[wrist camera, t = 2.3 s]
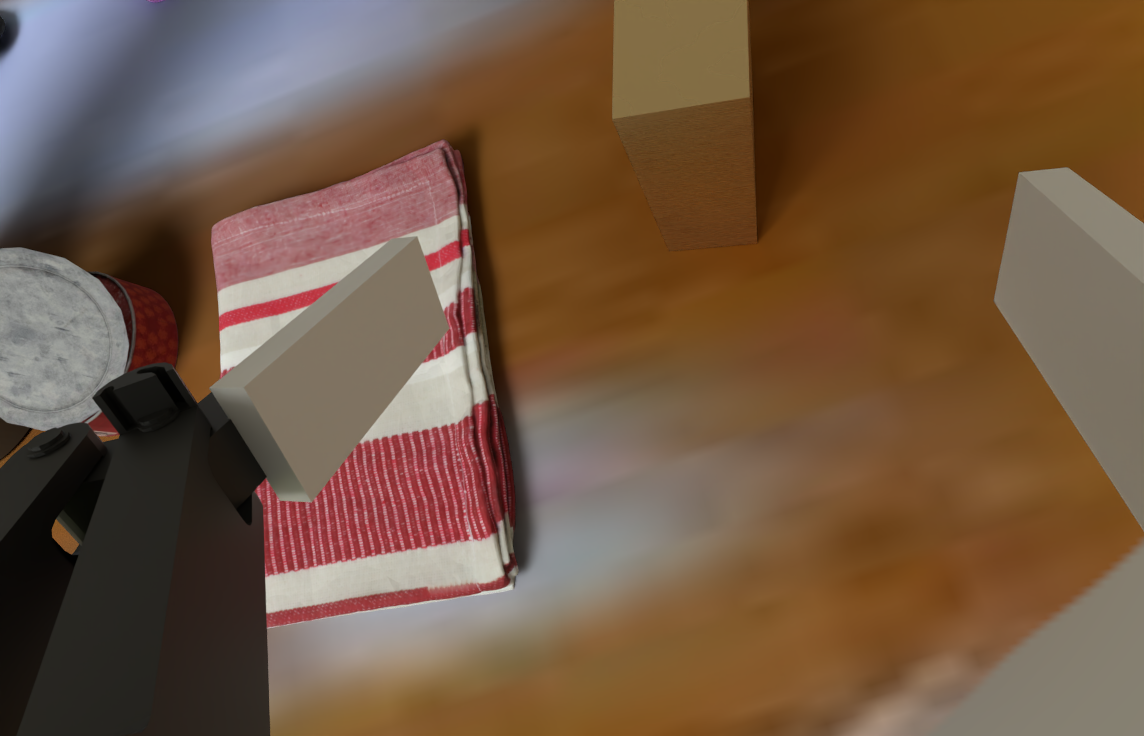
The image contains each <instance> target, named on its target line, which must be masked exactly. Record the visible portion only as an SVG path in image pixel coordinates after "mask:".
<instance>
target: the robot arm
mask: <svg viewBox="0 0 1144 736" xmlns="http://www.w3.org/2000/svg"><path fill="white" fill-rule="evenodd" d="M994 302H995V304H996V305H997V307H998V308H999V310H1000V311H1001V313H1002V315H1003V316H1004V318H1005V319H1006V321H1007V322H1008V324H1009V325H1010V327H1011V328H1012V330H1013V331H1014V333H1015V334H1016V336H1017V338H1018V339H1019V341H1020V342H1021V344H1022V345H1023V347H1024V348H1025V350H1026V351H1027V353H1028V354H1029V356H1030V357H1031V359H1032V360H1033V362H1034V364H1035V365H1036V367H1037V368H1038V370H1039V371H1040V373H1041V374H1042V376H1043V377H1044V379H1045V380H1046V382H1047V383H1048V385H1049V387H1050V388H1051V390H1052V391H1053V393H1054V394H1055V396H1056V397H1057V399H1058V400H1059V402H1060V403H1061V405H1062V406H1063V408H1064V410H1065V411H1066V413H1067V414H1068V416H1069V417H1070V419H1071V420H1072V422H1073V423H1074V425H1075V426H1076V428H1077V429H1078V431H1079V433H1080V434H1081V436H1082V437H1083V439H1084V440H1085V442H1086V443H1087V445H1088V446H1089V448H1090V449H1091V451H1092V452H1093V454H1094V456H1095V457H1096V459H1097V460H1098V462H1099V463H1100V465H1101V466H1102V468H1103V469H1104V471H1105V472H1106V474H1107V475H1108V477H1109V479H1110V480H1111V482H1112V483H1113V485H1114V486H1115V488H1116V489H1117V491H1118V492H1119V494H1120V495H1121V497H1122V498H1123V500H1124V502H1125V503H1126V505H1127V506H1128V508H1129V509H1130V511H1131V512H1132V514H1133V515H1134V517H1135V518H1136V520H1137V521H1138V523H1139V525H1140V526H1141V528H1142V529H1143V531H1144V223H1143V222H1141V221H1140V220H1138V219H1137V218H1136V217H1134V216H1133V215H1132V214H1130V213H1129V212H1128V211H1126V210H1125V209H1123V208H1122V207H1121V206H1119V205H1118V204H1117V203H1115V202H1114V201H1113V200H1111V199H1110V198H1109V197H1107V196H1106V195H1104V194H1103V193H1102V192H1100V191H1099V190H1098V189H1096V188H1095V187H1094V186H1092V185H1091V184H1090V183H1088V182H1087V181H1085V180H1084V179H1083V178H1081V177H1080V176H1079V175H1077V174H1076V173H1075V172H1073V171H1072V170H1071V169H1069V168H1068V167H1066V168H1056V169H1047V170H1038V171H1028V172H1019V175H1018V180H1017V185H1016V190H1015V195H1014V200H1013V205H1012V211H1011V216H1010V221H1009V226H1008V231H1007V236H1006V241H1005V246H1004V251H1003V256H1002V261H1001V266H1000V271H999V276H998V281H997V287H996V292H995V297H994ZM448 330H449V326H448V323H447V320H446V317H445V314H444V311H443V309H442V306H441V303H440V300H439V297H438V294H437V291H436V288H435V286H434V283H433V280H432V277H431V274H430V271H429V268H428V265H427V263H426V260H425V257H424V254H423V251H422V248H421V245H420V242H419V240H418V237H417V236H413V237H404V238H394V239H391V240H390V241H388V242H387V243H386V244H385V245H384V246H382V247H381V248H380V249H379V250H377V251H376V252H375V253H374V254H373V255H371V256H370V257H369V258H368V259H366V260H365V261H364V262H363V263H362V264H360V265H359V266H358V267H357V268H355V269H354V270H353V271H352V272H351V273H349V274H348V275H347V276H346V277H344V278H343V279H342V280H341V281H340V282H338V283H337V284H336V285H335V286H333V287H332V288H331V289H330V290H329V291H327V292H326V293H325V294H324V295H322V296H321V297H320V298H319V299H318V300H316V301H315V302H314V303H313V304H311V305H310V306H309V307H308V308H307V309H305V310H304V311H303V312H302V313H300V314H299V315H298V316H297V317H296V318H294V319H293V320H292V321H291V322H289V323H288V324H287V325H286V326H285V327H283V328H282V329H281V330H280V331H278V332H277V333H276V334H275V335H274V336H272V337H271V338H270V339H269V340H267V341H266V342H265V343H264V344H263V345H261V346H260V347H259V348H258V349H256V350H255V351H254V352H253V353H252V354H250V355H249V356H248V357H247V358H245V359H244V360H243V361H242V362H241V363H239V364H238V365H237V366H236V367H234V368H233V369H232V370H231V371H230V372H228V373H227V374H226V375H225V376H223V377H222V378H221V379H220V380H219V381H217V382H216V383H215V384H214V385H212V386H211V387H210V390H211V393H210V394H209V395H208V396H206V397H205V398H204V399H203V400H201V401H200V402H199V403H198V404H197V402H196V401H195V399H194V397H193V396H192V394H191V393H190V391H189V390H188V388H187V387H186V385H185V384H184V382H183V381H182V379H181V378H180V376H179V374H178V373H177V371H176V370H175V368H174V367H173V365H172V364H169V363H165V362H163V363H154V364H150V365H147V366H143V367H139V368H137V369H134V370H132V371H130V372H127V373H125V374H123V375H121V376H119V377H117V378H116V379H114V380H112V381H110V382H109V383H107V384H106V385H105V386H103V387H102V388H101V389H99V390H98V391H97V392H96V394H95V395H94V396H93V397H92V399H93V400H94V402H95V403H96V404H97V405H98V407H99V408H100V409H101V411H102V412H103V413H104V415H105V416H106V417H107V419H108V420H109V421H110V422H111V424H112V425H113V426H114V428H115V429H116V430H117V432H118V433H119V434H120V436H119V439H115V440H111V441H106V442H102V441H101V440H100V438H99V437H98V436H97V434H96V433H95V432H94V431H93V429H92V428H91V427H90V426H89V424H88V423H81V422H79V423H73V424H68V425H65V426H62V427H59V428H56V427H55V428H52V429H49V430H47V431H46V432H43V433H41V434H39V435H37V436H35V437H34V438H33V439H32V440H31V441H30V442H29V443H28V444H26V445H24V446H23V447H22V448H21V449H19V450H18V451H17V452H16V453H15V454H14V455H13V456H12V457H11V458H10V459H9V460H8V461H7V462H6V463H5V464H4V465H3V466H2V467H1V468H0V736H270V715H269V683H268V650H267V617H266V584H265V552H264V519H263V505H262V502H261V500H260V499H259V497H258V495H257V494H256V492H255V490H256V488H257V487H258V486H259V485H260V484H261V483H262V482H263V481H264V480H265V479H267V481H268V482H269V484H270V485H271V487H272V488H273V490H274V492H275V493H276V495H277V496H278V498H279V500H280V501H296V502H312V501H313V500H314V499H315V498H316V496H317V495H318V494H319V492H320V491H321V490H322V489H323V487H324V486H325V485H326V484H327V482H328V481H329V480H330V479H331V477H332V476H333V475H334V474H335V472H336V471H337V470H338V468H339V467H340V466H341V465H342V463H343V462H344V461H345V460H346V458H347V457H348V456H349V455H350V453H351V452H352V451H353V450H354V448H355V447H356V446H357V445H358V443H359V442H360V441H361V439H362V438H363V437H364V436H365V434H366V433H367V432H368V431H369V429H370V428H371V427H372V426H373V424H374V423H375V422H376V421H377V419H378V418H379V417H380V415H381V414H382V413H383V412H384V410H385V409H386V408H387V407H388V405H389V404H390V403H391V402H392V400H393V399H394V398H395V397H396V395H397V394H398V393H399V391H400V390H401V389H402V388H403V386H404V385H405V384H406V383H407V381H408V380H409V379H410V378H411V376H412V375H413V374H414V373H415V371H416V370H417V369H418V367H419V366H420V365H421V364H422V362H423V361H424V360H425V359H426V357H427V356H428V355H429V354H430V352H431V351H432V350H433V349H434V347H435V346H436V345H437V344H438V342H439V341H440V340H441V338H442V337H443V336H444V335H445V333H446V332H447V331H448ZM29 428H30V427H26V426H21V425H16V424H11V423H7V422H6V421H4V420H3V419H2V418H0V459H2V458H3V457H4V456H5V455H7V454H8V453H9V452H10V451H11V450H12V449H13V448H14V447H15V446H16V445H17V444H18V442H19V441H20V440H21V439H22V438H23V436H24V435H25V434H26V433H27V431H28V430H29ZM55 519H57V520H58V521H59V523H60V524H61V525H62V526H63V527H64V528H65V529H66V530H67V531H68V532H69V533H70V534H71V536H72V537H73V538H74V539H75V540H76V541H77V542H78V543H79V546H78V547H77V549H76V550H75V552H74V553H73V554H72V555H71V554H69V553H67V552H66V551H64V550H63V548H62V547H61V546H60V545H59V544H58V543H57V542H56V541H55V540H54V539H53V538H52V530H51V529H52V527H53V524H54V522H55Z"/></svg>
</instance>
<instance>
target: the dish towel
mask: <svg viewBox="0 0 1144 736" xmlns="http://www.w3.org/2000/svg"><path fill="white" fill-rule="evenodd" d="M413 236H417V237H418V240H419V242H420V245H421V248H422V251H423V254H424V257H425V260H426V263H427V265H428V268H429V271H430V274H431V277H432V280H433V283H434V286H435V288H436V291H437V294H438V297H439V300H440V303H441V306H442V309H443V311H444V314H445V317H446V320H447V323H448V326H449V330H448V331H447V332H446V333H445V335H444V336H443V337H442V338H441V340H440V341H439V342H438V344H437V345H436V346H435V347H434V349H433V350H432V351H431V352H430V354H429V355H428V356H427V357H426V359H425V360H424V361H423V362H422V364H421V365H420V366H419V367H418V369H417V370H416V371H415V373H414V374H413V375H412V376H411V378H410V379H409V380H408V381H407V383H406V384H405V385H404V386H403V388H402V389H401V390H400V391H399V393H398V394H397V395H396V397H395V398H394V399H393V400H392V402H391V403H390V404H389V405H388V407H387V408H386V409H385V410H384V412H383V413H382V414H381V415H380V417H379V418H378V419H377V421H376V422H375V423H374V424H373V426H372V427H371V428H370V429H369V431H368V432H367V433H366V434H365V436H364V437H363V438H362V439H361V441H360V442H359V443H358V445H357V446H356V447H355V448H354V450H353V451H352V452H351V453H350V455H349V456H348V457H347V458H346V460H345V461H344V462H343V463H342V465H341V466H340V467H339V468H338V470H337V471H336V472H335V474H334V475H333V476H332V477H331V479H330V480H329V481H328V482H327V484H326V485H325V486H324V487H323V489H322V490H321V491H320V492H319V494H318V495H317V496H316V498H315V499H314V500H313V501H312V502H296V501H280V500H279V498H278V496H277V495H276V493H275V492H274V490H273V488H272V487H271V485H270V484H269V482H268V481H267V479H265V480H264V481H263V482H262V483H261V484H260V485H259V486H258V487H257V488H256V490H255V492H256V494H257V495H258V497H259V499H260V500H261V502H262V505H263V519H264V552H265V584H266V617H267V628H273V627H278V626H284V625H290V624H296V623H301V622H306V621H313V620H319V619H324V618H330V617H338V616H343V615H350V614H355V613H361V612H370V611H377V610H383V609H391V608H399V607H407V606H413V605H419V604H425V603H431V602H438V601H445V600H451V599H455V598H460V597H467V596H477V595H485V594H490V593H498V592H503V591H508V590H513V589H514V583H515V576H516V575H518V572H519V571H518V565H517V561H516V558H515V554H514V550H513V538H514V530H515V489H514V479H513V470H512V462H511V457H510V451H509V444H508V440H507V435H506V430H505V425H504V421H503V417H502V413H501V411H500V408H499V406H498V402H497V397H496V392H495V387H494V381H493V376H492V368H491V362H490V354H489V344H488V336H487V330H486V322H485V316H484V309H483V301H482V293H481V287H480V282H479V279H478V276H477V271H476V259H475V253H474V247H473V239H472V233H471V221H470V215H469V212H468V204H467V189H466V182H465V176H464V163H463V160H462V156H461V154H460V151H459V150H453V148H452V147H451V146H450V144H449V142H448V141H446V140H444V139H443V140H441V141H438V142H436V143H433V144H431V145H429V146H427V147H425V148H422V149H419V150H417V151H414V152H411V153H410V154H408V155H405V156H403V157H401V158H399V159H397V160H395V161H393V162H391V163H389V164H387V165H384V166H382V167H380V168H377V169H375V170H373V171H371V172H368V173H366V174H364V175H361V176H359V177H356V178H354V179H351V180H349V181H345V182H341V183H338V184H335V185H332V186H330V187H327V188H324V189H321V190H318V191H315V192H312V193H308V194H303V195H299V196H296V197H291V198H286V199H284V200H280V201H275V202H272V203H269V204H264V205H260V206H256V207H253V208H250V209H248V210H245V211H242V212H239V213H237V214H234V215H232V216H230V217H227V218H225V219H223V220H221V221H220V222H218V223H216V224H215V225H214V226H213V227H212V239H211V244H212V250H213V258H214V267H215V275H216V283H217V293H218V305H219V332H220V345H221V352H220V360H221V374H220V379H221V378H222V377H223V376H225V375H226V374H227V373H228V372H230V371H231V370H232V369H233V368H234V367H236V366H237V365H238V364H239V363H241V362H242V361H243V360H244V359H245V358H247V357H248V356H249V355H250V354H252V353H253V352H254V351H255V350H256V349H258V348H259V347H260V346H261V345H263V344H264V343H265V342H266V341H267V340H269V339H270V338H271V337H272V336H274V335H275V334H276V333H277V332H278V331H280V330H281V329H282V328H283V327H285V326H286V325H287V324H288V323H289V322H291V321H292V320H293V319H294V318H296V317H297V316H298V315H299V314H300V313H302V312H303V311H304V310H305V309H307V308H308V307H309V306H310V305H311V304H313V303H314V302H315V301H316V300H318V299H319V298H320V297H321V296H322V295H324V294H325V293H326V292H327V291H329V290H330V289H331V288H332V287H333V286H335V285H336V284H337V283H338V282H340V281H341V280H342V279H343V278H344V277H346V276H347V275H348V274H349V273H351V272H352V271H353V270H354V269H355V268H357V267H358V266H359V265H360V264H362V263H363V262H364V261H365V260H366V259H368V258H369V257H370V256H371V255H373V254H374V253H375V252H376V251H377V250H379V249H380V248H381V247H382V246H384V245H385V244H386V243H387V242H388V241H390V240H391V239H394V238H404V237H413Z"/></svg>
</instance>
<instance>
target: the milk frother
mask: <svg viewBox="0 0 1144 736" xmlns="http://www.w3.org/2000/svg"><path fill="white" fill-rule="evenodd" d="M4 30H5V21H4V19H2V17H1V16H0V37H1V35H2V34H3V32H4Z"/></svg>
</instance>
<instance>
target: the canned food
mask: <svg viewBox="0 0 1144 736" xmlns="http://www.w3.org/2000/svg"><path fill="white" fill-rule="evenodd" d="M178 341H179V339H178V330H177V324H176V320H175V317H174V314H173V312H172V310H171V308H170V306H169V304H168V303H167V301H166V300H165V299H164V298H163V297H162V296H161V295H160V294H158V293H157V292H155V291H154V290H152V289H149V288H146V287H143V286H140V285H137V284H134V283H131V282H127V281H124V280H121V279H118V278H115V277H112V276H109V275H108V274H104V273H100V272H86V271H85V270H83V269H82V268H80V267H78V266H77V265H75V264H73V263H72V262H70V261H69V260H67V259H65V258H62V257H58V256H54V255H50V254H46V253H42V252H38V251H34V250H30V249H26V248H22V247H16V248H0V418H2V419H3V420H4V421H6V422H7V423H11V424H16V425H21V426H26V427H30V428H34V429H38V430H42V431H44V430H45V431H47V430H49V429H52V428H55V427H56V428H59V427H62V426H65V425H68V424H73V423H79V422H81V423H88V424H89V426H90V427H91V428H92V429H93V431H94V432H95V433H96V434H97V436H114V435H120V434H119V433H118V432H117V430H116V429H115V428H114V426H113V425H112V424H111V422H110V421H109V420H108V419H107V417H106V416H105V415H104V413H103V412H102V411H101V409H100V408H99V407H98V405H97V404H96V403H95V402H94V400H93V399H92V397H93V396H94V395H95V394H96V392H97V391H98V390H99V389H101V388H102V387H103V386H105V385H106V384H107V383H109V382H110V381H112V380H114V379H116V378H117V377H119V376H121V375H123V374H125V373H127V372H130V371H132V370H134V369H137V368H139V367H143V366H147V365H150V364H154V363H163V362H165V363H169V364H172V365H173V367H174V368H175V366H176V361H177V356H178Z"/></svg>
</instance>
